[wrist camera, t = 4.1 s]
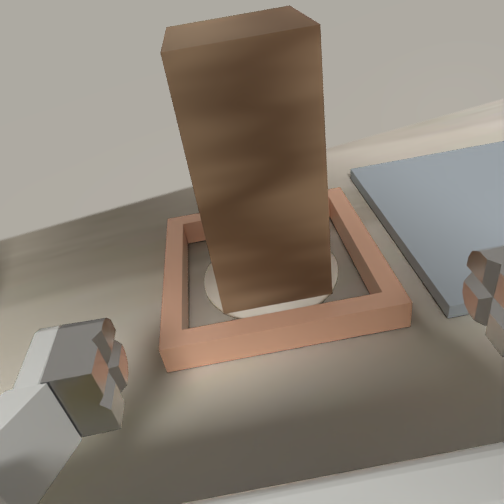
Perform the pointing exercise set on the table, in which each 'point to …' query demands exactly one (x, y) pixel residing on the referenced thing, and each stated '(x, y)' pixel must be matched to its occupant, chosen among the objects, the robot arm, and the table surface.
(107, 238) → the table surface
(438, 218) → the rubber mat
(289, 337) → the terracotta frame
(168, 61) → the walnut block
